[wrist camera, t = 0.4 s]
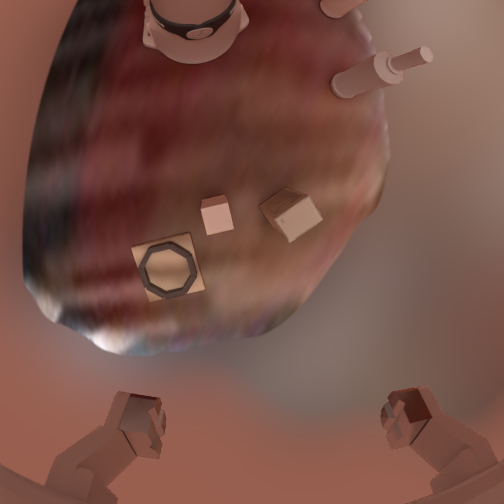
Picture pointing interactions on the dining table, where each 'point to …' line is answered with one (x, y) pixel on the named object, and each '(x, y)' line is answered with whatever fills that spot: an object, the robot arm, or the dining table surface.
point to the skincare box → (291, 213)
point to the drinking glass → (339, 7)
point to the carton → (216, 214)
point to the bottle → (377, 72)
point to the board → (168, 267)
